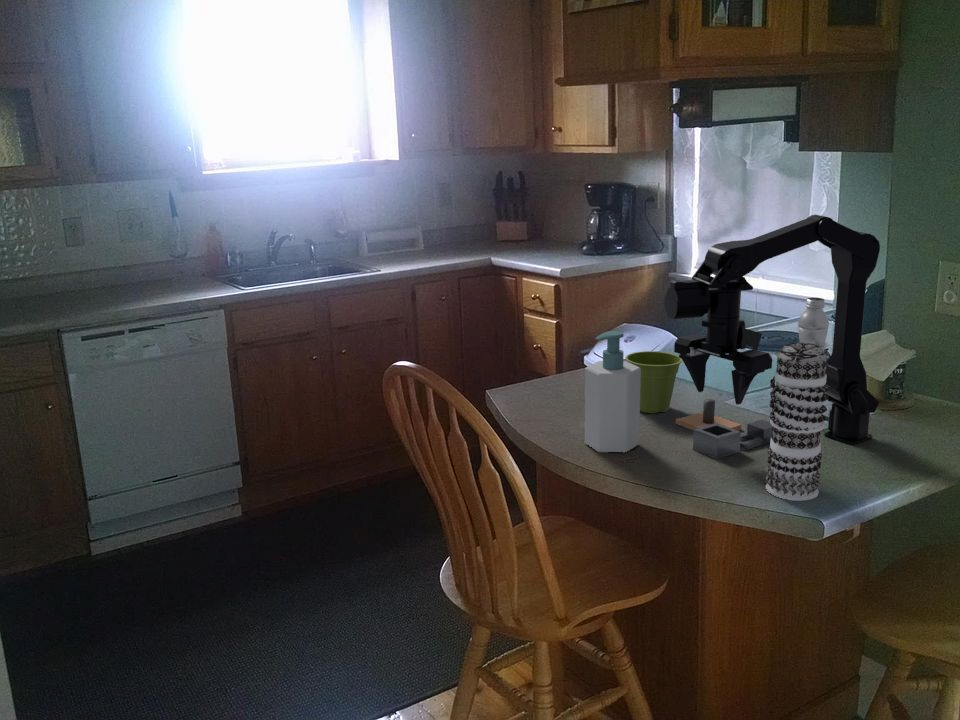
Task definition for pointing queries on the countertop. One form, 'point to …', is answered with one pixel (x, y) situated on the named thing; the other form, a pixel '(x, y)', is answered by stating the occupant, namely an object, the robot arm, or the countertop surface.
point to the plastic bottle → (813, 323)
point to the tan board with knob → (706, 418)
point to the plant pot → (655, 378)
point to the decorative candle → (797, 421)
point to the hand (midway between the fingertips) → (719, 397)
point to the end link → (716, 440)
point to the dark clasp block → (756, 434)
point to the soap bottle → (612, 399)
